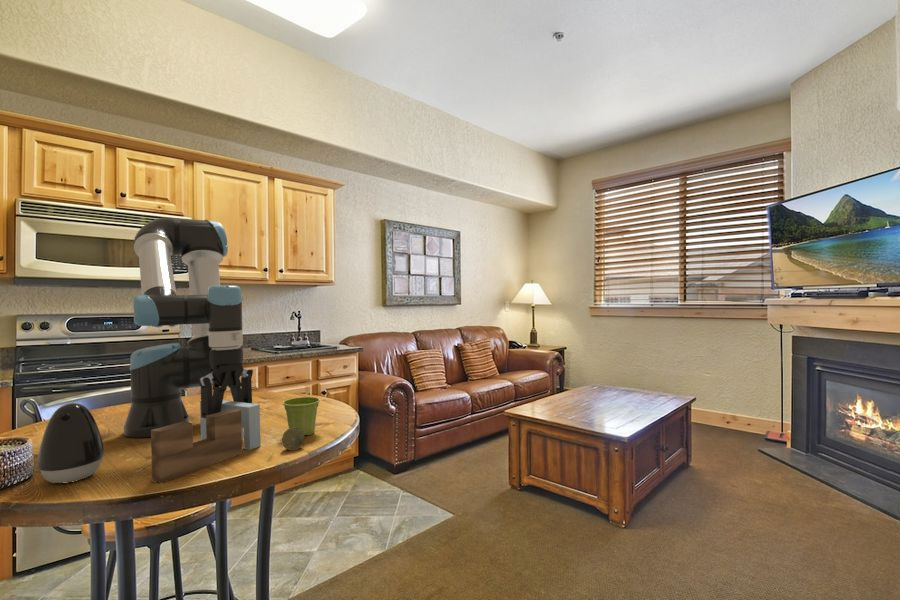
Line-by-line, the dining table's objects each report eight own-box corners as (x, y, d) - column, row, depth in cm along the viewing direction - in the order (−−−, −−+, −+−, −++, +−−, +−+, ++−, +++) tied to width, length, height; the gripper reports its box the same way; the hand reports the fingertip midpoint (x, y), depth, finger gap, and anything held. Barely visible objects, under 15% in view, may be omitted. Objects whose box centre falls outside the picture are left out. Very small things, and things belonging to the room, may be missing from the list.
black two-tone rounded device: (27, 494, 83) (25, 412, 83) (50, 474, 92) (49, 401, 92) (95, 483, 87) (93, 405, 87) (111, 466, 96) (109, 395, 96)
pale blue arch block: (200, 440, 113) (199, 401, 113) (211, 437, 115) (210, 398, 115) (249, 449, 104) (248, 407, 104) (260, 446, 107) (259, 404, 107)
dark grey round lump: (307, 446, 106) (306, 425, 106) (294, 453, 101) (293, 431, 101) (291, 445, 107) (290, 424, 107) (277, 451, 103) (277, 430, 103)
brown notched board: (152, 481, 87) (150, 430, 87) (233, 451, 103) (232, 408, 103) (161, 483, 86) (159, 431, 86) (242, 453, 102) (241, 410, 102)
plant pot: (326, 428, 121) (325, 396, 121) (312, 439, 111) (311, 404, 111) (293, 428, 122) (292, 396, 122) (276, 439, 112) (275, 404, 112)
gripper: (201, 352, 100) (204, 456, 100) (266, 344, 116) (269, 433, 116) (180, 351, 104) (183, 451, 104) (247, 343, 120) (249, 430, 120)
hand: (228, 441), depth 110 cm, fingers open, 5 cm apart
